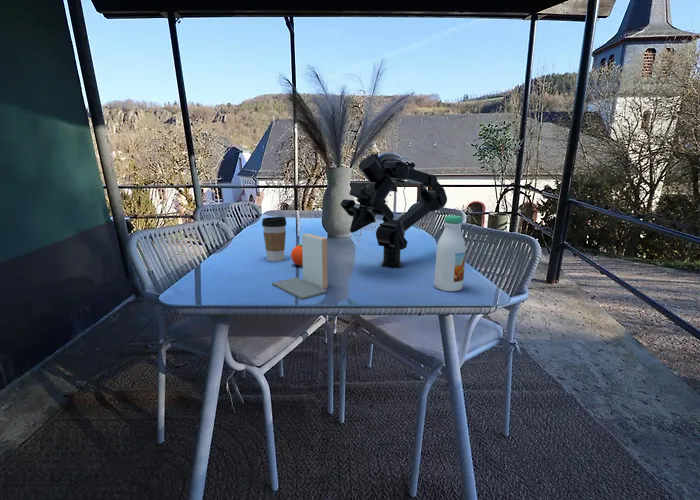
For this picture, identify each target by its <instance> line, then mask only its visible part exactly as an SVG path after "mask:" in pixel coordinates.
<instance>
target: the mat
mask: <svg viewBox="0 0 700 500" xmlns="http://www.w3.org/2000/svg"><path fill="white" fill-rule="evenodd" d="M271 284H272V286H274V287H275V288H277V289H279V290H281V291H284V292H286V293H288V294H290V295H291V296H294V297H295V298H297V299H299V300H301V301H303V300H307V299H310V298H313V297H317V296H322V295H324V294H327V293H328V290H327V289H322V288H320V287H318V286H315V285H313V284H311V283H309V282H306V281H304V280H303V278H302V279H301V278H299V277H291V278H288V279H283V280H277V281H275V282H272V283H271Z"/></svg>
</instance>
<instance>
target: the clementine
mask: <svg viewBox="0 0 700 500" xmlns="http://www.w3.org/2000/svg"><path fill="white" fill-rule="evenodd" d="M290 257H291V261H292V262H293V263H294V264H295V265H297V266H302V267H303V256H302V244H298V245H296V246H295V247H293V249H292V250H291V252H290Z"/></svg>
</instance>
